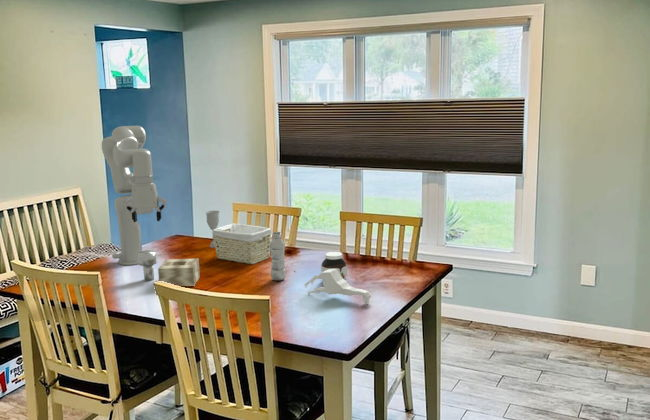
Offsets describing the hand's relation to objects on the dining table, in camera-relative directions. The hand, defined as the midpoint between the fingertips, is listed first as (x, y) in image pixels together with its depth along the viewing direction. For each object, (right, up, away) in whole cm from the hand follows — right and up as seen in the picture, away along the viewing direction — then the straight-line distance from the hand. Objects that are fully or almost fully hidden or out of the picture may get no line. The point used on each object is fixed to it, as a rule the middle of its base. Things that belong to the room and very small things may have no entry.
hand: (147, 221), depth 255 cm
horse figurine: (+79, -29, -25) cm, 88 cm away
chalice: (+17, -14, +59) cm, 63 cm away
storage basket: (+36, -19, +34) cm, 53 cm away
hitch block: (+14, -25, 0) cm, 29 cm away
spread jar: (+78, -24, -3) cm, 82 cm away
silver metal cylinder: (0, -25, +4) cm, 25 cm away
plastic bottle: (+55, -25, -1) cm, 60 cm away
